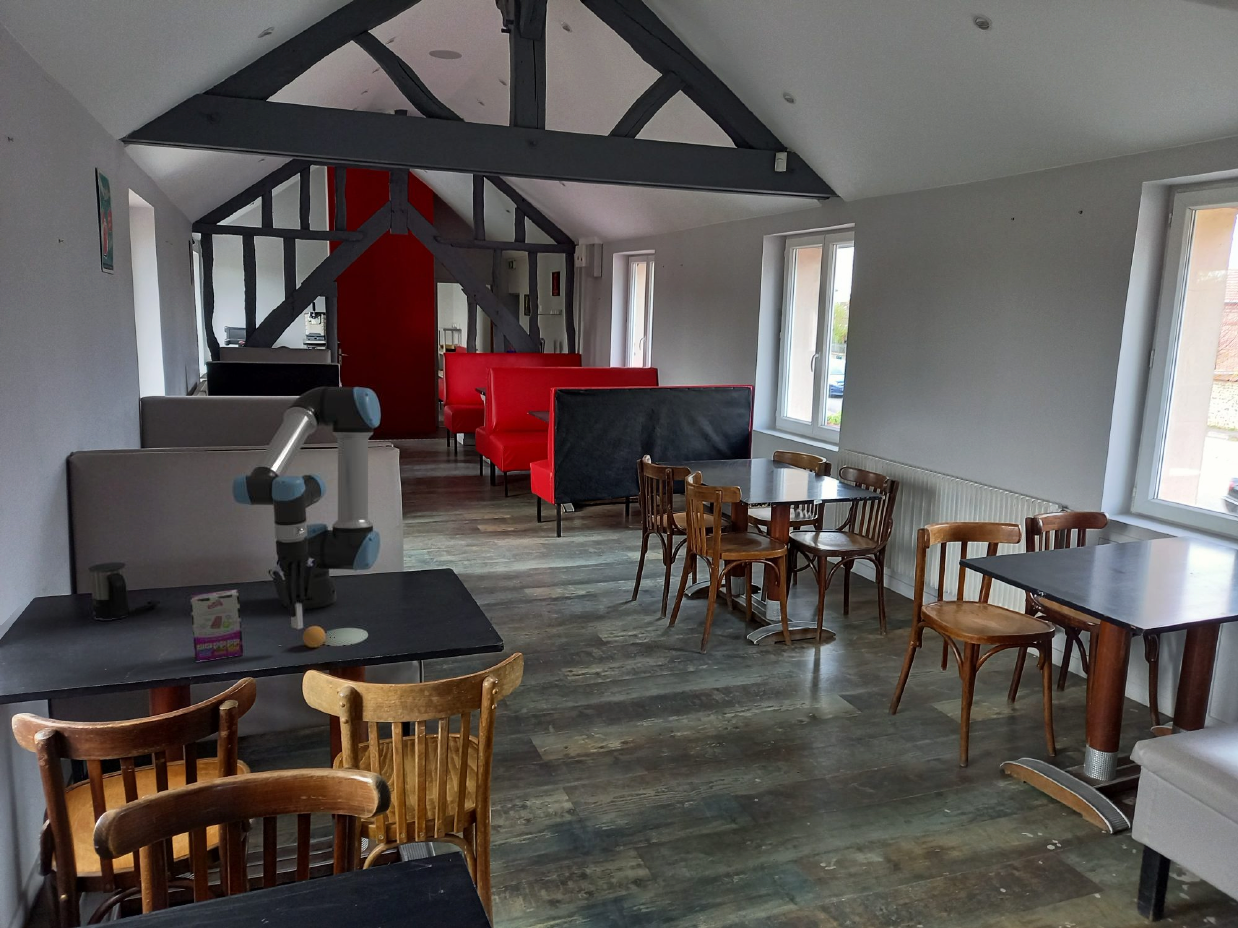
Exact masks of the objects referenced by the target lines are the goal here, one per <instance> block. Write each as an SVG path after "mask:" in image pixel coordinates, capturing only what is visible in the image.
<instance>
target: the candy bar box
mask: <svg viewBox="0 0 1238 928" xmlns="http://www.w3.org/2000/svg"><path fill="white" fill-rule="evenodd" d="M189 602H190V603H189V605H190V615H191V616H190V617H191V625H192V626H191V627H192V639H193V649H194V650H193V651H194V661H200V660H210V659H216V658H222V657H229V656H235V655H243V656H244V645H243V633H242V630H243V629H242V620H241V606H240V605H241V604H240V596H239V591H238V589H230V590H224V591H223V590H221V591H215V592H209V593H207V592H206V593H200V594H199V593H198V594H193V595H192V594H191V595H190V596H189Z"/></svg>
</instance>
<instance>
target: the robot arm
mask: <svg viewBox="0 0 1238 928" xmlns="http://www.w3.org/2000/svg"><path fill="white" fill-rule="evenodd" d="M381 416H382V415H381V406H380V402H379V399H378V396H377V394H376V392H375V391H373V390H372V389H370V388H367V387H359V386H355V387H354V386H350V387H349V386H320V387H319V386H318V387H315V388H313V389H310V390H308V391H306V392H304V393H303V394H301V395H300V396H299V397H297V398H296V399H295V400H294V401H293V402H291V404H290V405H289V406H288V407H287V409H286V410H285V411H284V414H283V422H282V423H281V425H280V427H279V428H278V430H277V432H276V433H275V435H274V436H273V438H272V439H271V441H270V443H269V444H268V445H267V447H266V449H265V451H264V452H263V454H262V455H261V457H260V458H259V460H258V461H257V464H256V465H255V467H254V468H253V470H252V471H251V472H250V474H249V475H247V474H244V475H239V476H237V477H236V478H234V480H233V484H232V486H231V487H232V488H231V489H232V490H231V491H232V496H233V499H234V501H235V502H236V503H238V504H241V505H250V506H272V507H273V515H274V516H273V518H274V520H273V521H274V522H273V523H274V537H275V539H276V540H275V551H276V555H277V556H276V557H277V560H276V565H275V567H274V568H273V569H268V574H269V576H270V577H271V578H272V581H273V585H274V586H275V591H276V593H277V596H278V600H279V603H280V604H283V606H285V607H286V608H287V613H288V614H287V615H288V617H290V622H291V625H290V626H291V628H294V629H296V630H300V629H303V628H304V620H303V618H304V617H303V615H304V614H305V610H312V609H319V608H323V607H327V606H329V605H331V604H334V603H335V602H336V601H337V591H336V588H335V586H334V584H333V580H332V578H331V576H330V570H349V571H351V570H352V571H366V570H370V569H371V568H372V567H373V566H374V565H375V564H376V561H377V559H378V556H379V552H380V547H381V536H380V533H379V532H378V531H377V530H374V523H373V522H371V520H370V519H369V504H368V503H369V438H370V437H372V435H373V434H374V429H375V428H377V427H378V426H379V425H380V423H381ZM319 427H331V429H332V430H331V431H332V434H333V435H334V436H335V438H337V520H336V521H334V523H332V525H331V526H332V527H331V528H332V529H328V528H329V526H328V525H327V523H311V524H307V508H309V507H311V506H312V505H314V504H317V503H318V502H319V501H320V500H321V499H322V498H324V496H325V494H326V491H327V486H326V482H325V481H324V479H323V478H322V477H321V476H319V475H318V474H314V473H311V474H310V473H309V474H303V475H302V476H298V475H286V474H287V472H288V470H289V468H290V467H291V465H292V463H293V462H294V460H295V458H296V456H297V455H298V453H299V451H300V449H301V448H302V446H303V445H304V443H305V441H306V440H307V437H308V436H309V435H311V434H313V433H314V432H315V431H316V429H317V428H319ZM282 574H283V575H282Z"/></svg>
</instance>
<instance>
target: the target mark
mask: <svg viewBox="0 0 1238 928" xmlns="http://www.w3.org/2000/svg"><path fill="white" fill-rule="evenodd" d="M326 632H327V633H325V640H324V642H325V643H322V644H321V645H323V644H325V645H324V646H327V645H330V646H329V647H344V646H343V645H346V646H350V645H351V644H352V645H356V644H358V643H360V642H361V643H362V642H363V641H364V640H366V639H367V638H368V636H369V634H368V632H367V631H366V630H365V629H361V628H356V627H344V628H343V627H340V628H334V629H332V630H331V629H329V630H327V631H326ZM330 637H331V638H330ZM334 637H335V638H334Z"/></svg>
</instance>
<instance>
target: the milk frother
mask: <svg viewBox="0 0 1238 928" xmlns="http://www.w3.org/2000/svg"><path fill="white" fill-rule="evenodd" d="M126 565H127V564H126V563H124V562H120V561H119V562H115V561H114V562H113V561H112V562H111V561H110V562H104V563H100V564H95V565H91V566H89V567H88V569H87V570H88V571H89V576H90V577H89V578H90V579H89V580H90V588H91V589H90V590H91V597H92V598H91V599H92V607H93V612H92V613H93V616H95V617H96V618H102V619H110V618H111V619H112V618H120V617H122V616H126V615H128V614H129V613H130V614H131V613H135V612H137V611H141V610H144V609H147V608H148V609H149V610H150V608H154V609H156V608H157V607H158V605H160V604H162V603H163V601H162V600H161V599H159V600H154V599H151V600H147V602H146V604H144V605H140V606H137V607H136V608H134V609H132V610H130V609H129V608H130V607H129V601H128V592H127V591H128V589H127V579H126ZM130 614H129V615H130ZM129 615H128V616H129ZM126 617H127V616H126Z"/></svg>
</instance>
